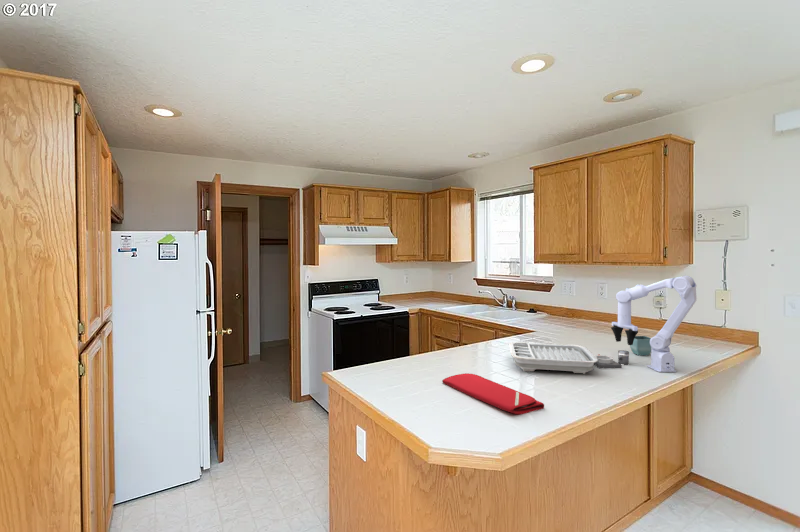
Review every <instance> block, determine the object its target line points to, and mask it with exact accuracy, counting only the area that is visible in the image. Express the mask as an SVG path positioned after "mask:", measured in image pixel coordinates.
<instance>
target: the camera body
mask: <svg viewBox="0 0 800 532" xmlns="http://www.w3.org/2000/svg"><path fill="white" fill-rule="evenodd" d="M594 356H595V357H596V358H597V359H598V361H597V362H595V363H594V366H595V367H596V366H597V367H596V368H597V369H600V368H623V367H622V366H623V365H621V364H619V363H618V361H615V360H614V358H613V357H612V356H608V355H603V354H599V353H598V354H597V355H594Z"/></svg>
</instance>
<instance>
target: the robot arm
mask: <svg viewBox="0 0 800 532" xmlns="http://www.w3.org/2000/svg"><path fill="white" fill-rule="evenodd" d="M664 288H668V289H674V291H676V292H677V293H678V294H679V297H680V301H679V302H678V304H677V306H676V307H675V308H674V309H673V312H672V313H671V315H670V316H669V317H668V318H667V320H666V322H665V323H664V325H663V326H662V328H661V329H660V330H659V331H657V333H656V334H655V335H654V336H652V337H650V338H651V339H650V345H651V352H650V364H649V365H648V364H647V365H646V367H647V368H650V369H652V370H654V371H655V372H658V373H676V372H677V370H675V361H676V360H675V356H674V354H672V352H671V349H670V345H671V344H672V339H673V337H674V333H676V330H677V329H678V328H679V326H680V325H681V324H682V322H683V321H684V319H685V318H686V317H687V315H688V313H689V312H690V310H691V309H692V308H693V306H694V305H695V303H696V302H697V284H696V282H695V280H694V278H693V277H692V276H689V275H682V276H677V277H671V278H665V279H663V280H660V281H656V282H654V283H651V284H649V285H645V284H640V283H638V284H636V285H635V286H633V287H631V288H629V287H626V288H625V290H622V289H621V290H620V291H618V292H616V294H615V298H616V300H617V321H611V327H610V329H611V331H612V333H613V335H614V339H615V342H617V343H618V342H619V343H620V342H621V341H622V334H623V330H624V329H625V330H624V331H625V335H626V342H627V345H628V346H630V345H633V341H634V338H635V336H637V335H638V333H639V331H638V328H639V327H638V326H637V325H634V324H633V323H632V301H635V300H638V299H639V300H640V299H641V298H646V297H647V296H649V293H652V292H655V291H659V290H661V289H664Z"/></svg>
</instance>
